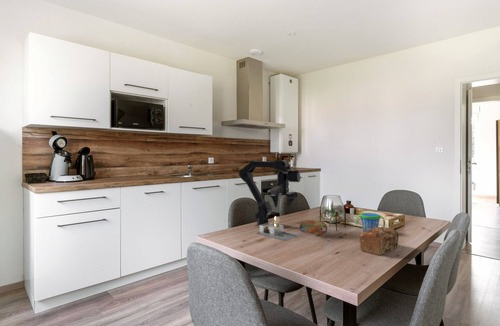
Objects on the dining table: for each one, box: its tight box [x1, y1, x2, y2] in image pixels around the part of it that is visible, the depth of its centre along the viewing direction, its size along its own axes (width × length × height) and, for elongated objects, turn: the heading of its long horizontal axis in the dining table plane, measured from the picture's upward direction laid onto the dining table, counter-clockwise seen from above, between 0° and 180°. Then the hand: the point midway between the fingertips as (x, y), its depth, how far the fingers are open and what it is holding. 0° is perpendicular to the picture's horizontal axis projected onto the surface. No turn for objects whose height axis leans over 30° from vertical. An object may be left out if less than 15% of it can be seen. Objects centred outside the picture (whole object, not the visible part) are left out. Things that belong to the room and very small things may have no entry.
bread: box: [359, 226, 399, 256], centre depth 134 cm, size 19×11×10 cm, turn 130°
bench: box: [256, 222, 302, 242], centre depth 153 cm, size 20×14×6 cm
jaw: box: [270, 216, 285, 235], centre depth 154 cm, size 3×8×9 cm, turn 134°
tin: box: [299, 219, 328, 238], centre depth 157 cm, size 15×3×8 cm, turn 62°
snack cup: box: [355, 212, 386, 233], centre depth 164 cm, size 16×10×10 cm
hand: (282, 208), depth 168 cm, fingers open, 9 cm apart
